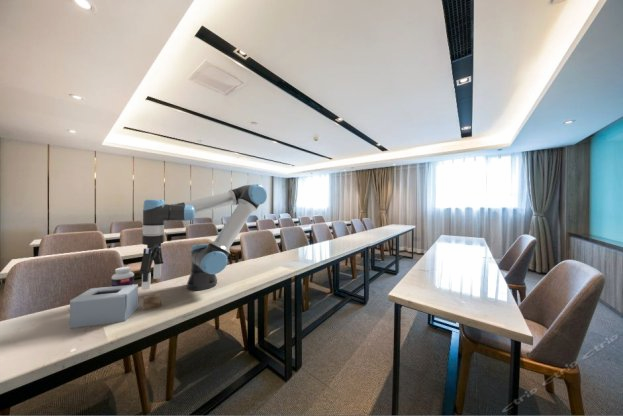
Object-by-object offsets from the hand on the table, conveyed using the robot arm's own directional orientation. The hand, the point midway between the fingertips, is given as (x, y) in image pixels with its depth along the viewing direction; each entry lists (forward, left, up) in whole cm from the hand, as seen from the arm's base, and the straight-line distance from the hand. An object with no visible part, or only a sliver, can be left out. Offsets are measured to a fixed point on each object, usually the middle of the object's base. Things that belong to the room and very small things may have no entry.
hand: (151, 283), depth 94 cm
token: (0, 0, -11) cm, 11 cm away
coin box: (+14, +4, -11) cm, 18 cm away
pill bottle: (+16, -14, -11) cm, 24 cm away
